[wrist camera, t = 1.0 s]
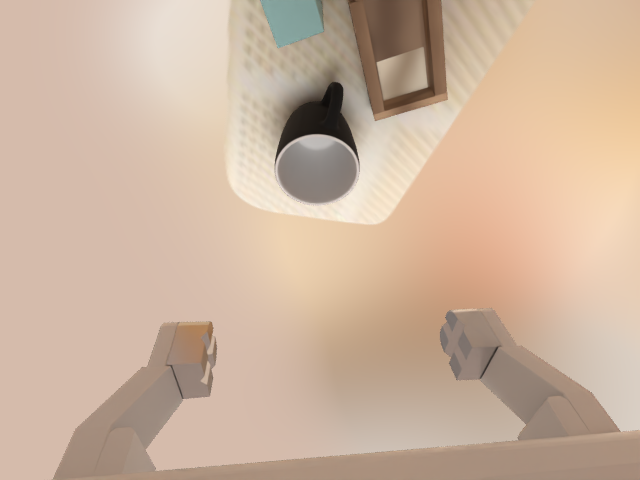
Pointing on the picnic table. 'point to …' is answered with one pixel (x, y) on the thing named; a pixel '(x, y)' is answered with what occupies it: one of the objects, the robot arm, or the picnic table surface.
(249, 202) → the picnic table surface
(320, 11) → the block
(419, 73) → the brown wooden tray
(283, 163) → the mug
